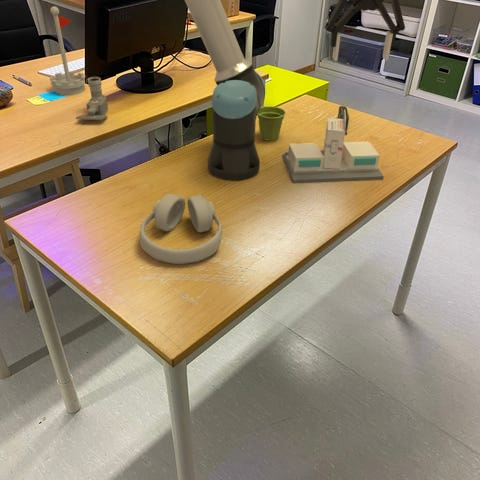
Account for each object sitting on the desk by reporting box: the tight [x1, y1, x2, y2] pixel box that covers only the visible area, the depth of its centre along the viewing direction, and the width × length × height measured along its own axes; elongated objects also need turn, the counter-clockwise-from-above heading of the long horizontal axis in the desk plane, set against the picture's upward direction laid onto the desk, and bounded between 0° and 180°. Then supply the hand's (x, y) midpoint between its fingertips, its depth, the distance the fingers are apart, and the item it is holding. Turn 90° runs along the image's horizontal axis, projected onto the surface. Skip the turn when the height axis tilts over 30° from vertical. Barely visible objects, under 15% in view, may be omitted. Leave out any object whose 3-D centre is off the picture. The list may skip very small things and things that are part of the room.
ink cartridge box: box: [323, 110, 346, 169], centre depth 131 cm, size 9×5×15 cm, turn 173°
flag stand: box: [49, 6, 86, 97], centre depth 174 cm, size 13×13×30 cm
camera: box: [75, 76, 109, 121], centre depth 160 cm, size 9×12×15 cm
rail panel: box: [281, 141, 385, 184], centre depth 135 cm, size 26×16×6 cm, turn 97°
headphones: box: [139, 193, 223, 265], centre depth 106 cm, size 18×8×20 cm
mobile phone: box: [337, 105, 350, 136], centre depth 160 cm, size 5×3×15 cm
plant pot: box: [257, 105, 287, 142], centre depth 150 cm, size 9×9×9 cm
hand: (360, 59), depth 124 cm, fingers open, 13 cm apart
